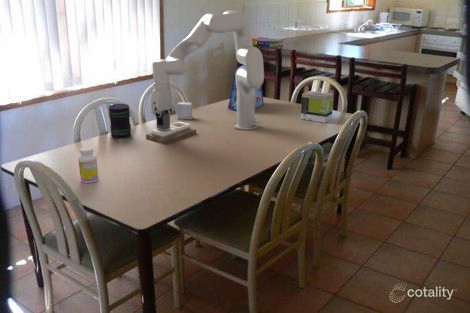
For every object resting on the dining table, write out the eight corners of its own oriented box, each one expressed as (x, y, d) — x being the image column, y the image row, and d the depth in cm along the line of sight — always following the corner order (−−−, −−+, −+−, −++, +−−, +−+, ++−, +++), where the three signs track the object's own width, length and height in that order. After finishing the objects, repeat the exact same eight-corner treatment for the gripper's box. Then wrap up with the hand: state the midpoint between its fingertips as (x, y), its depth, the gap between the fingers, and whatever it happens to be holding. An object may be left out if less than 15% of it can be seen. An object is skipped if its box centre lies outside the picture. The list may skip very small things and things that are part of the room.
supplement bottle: (83, 176, 177) (79, 145, 172) (100, 176, 177) (97, 145, 173) (79, 183, 171) (75, 151, 166) (97, 183, 171) (93, 151, 166)
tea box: (332, 119, 254) (334, 93, 249) (325, 123, 246) (327, 97, 241) (307, 115, 262) (309, 90, 256) (300, 119, 254) (301, 93, 248)
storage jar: (124, 131, 231) (122, 102, 226) (135, 135, 225) (133, 106, 219) (107, 135, 225) (104, 106, 219) (117, 140, 218) (115, 110, 213)
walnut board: (196, 133, 229) (196, 129, 228) (166, 144, 213) (166, 140, 212) (176, 128, 236) (176, 124, 236) (146, 138, 221) (145, 134, 220)
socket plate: (190, 128, 229) (190, 124, 228) (163, 138, 215) (163, 133, 214) (175, 125, 234) (175, 120, 234) (148, 134, 220) (148, 129, 219)
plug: (170, 128, 219) (169, 110, 216) (164, 129, 216) (163, 112, 213) (162, 126, 222) (162, 109, 219) (156, 128, 219) (156, 110, 216)
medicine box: (192, 117, 255) (192, 102, 252) (191, 119, 251) (190, 104, 248) (178, 117, 256) (178, 102, 253) (177, 119, 252) (176, 104, 249)
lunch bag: (246, 113, 265) (247, 63, 255) (227, 109, 272) (227, 61, 262) (264, 105, 282) (266, 58, 272) (246, 102, 289) (246, 56, 279)
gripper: (168, 82, 220) (170, 118, 227) (142, 88, 207) (145, 126, 214) (179, 84, 216) (181, 121, 222) (154, 90, 203) (156, 129, 210)
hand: (163, 123), depth 218 cm, fingers closed on plug, 4 cm apart
